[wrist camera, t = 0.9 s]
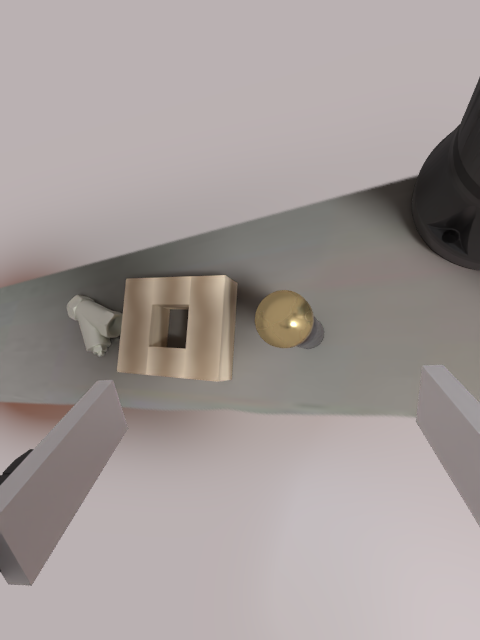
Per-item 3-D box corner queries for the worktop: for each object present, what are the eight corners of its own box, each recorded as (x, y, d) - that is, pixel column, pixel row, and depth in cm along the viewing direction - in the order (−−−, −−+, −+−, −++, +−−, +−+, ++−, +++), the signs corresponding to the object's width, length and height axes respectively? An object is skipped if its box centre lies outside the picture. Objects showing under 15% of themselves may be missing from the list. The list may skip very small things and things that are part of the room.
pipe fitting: (115, 359, 46) (130, 315, 45) (94, 361, 42) (109, 313, 42) (78, 338, 49) (91, 297, 48) (55, 338, 45) (69, 293, 45)
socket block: (237, 283, 40) (225, 275, 36) (231, 379, 39) (218, 381, 35) (145, 285, 45) (126, 278, 41) (137, 371, 44) (116, 371, 40)
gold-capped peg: (328, 314, 36) (313, 289, 24) (327, 353, 35) (310, 349, 23) (289, 313, 37) (256, 290, 25) (288, 351, 37) (253, 346, 25)
